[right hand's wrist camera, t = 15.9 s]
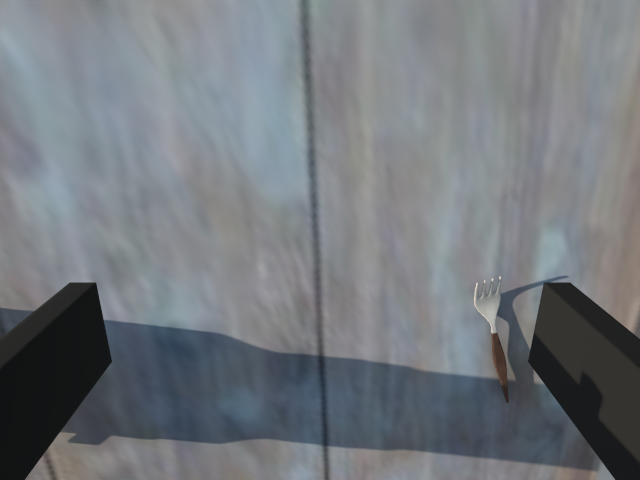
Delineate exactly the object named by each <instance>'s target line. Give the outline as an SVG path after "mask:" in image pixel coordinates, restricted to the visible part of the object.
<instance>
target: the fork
mask: <svg viewBox="0 0 640 480" xmlns="http://www.w3.org/2000/svg"><path fill="white" fill-rule="evenodd" d="M500 283H501V276H500V277H499V281H498V285H497V289H496V292H495V293H493V278H492V281H491V285H490V289H489V293H488V294H487V295H486V290H485V284H486V281H485V280H484V284H483V289H482V294H481V296H478V282H477V284H476V289H475V296H474V305H475V307H476V309H477V310H478V311H479V312H480V313H481V314H482V315H483V316H484V317H485V318H486V319H487V320H488V321H489V323H490V325H491V331H492V351H493V360H494V364H495V368H496V371H497V373H498V376H499V379H500V382H501V386H502V389H503V393H504V396H505V399H506V402H507V403H508V402H509V400H508V386H507V369H506V360H505V356H504V352H503V349H502V346H501V343H500V340H499V337H498V334H497V331H496V327H495V319H496V315H497V312H498V309H499V306H500V301H501V293H500Z"/></svg>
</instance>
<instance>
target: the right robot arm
mask: <svg viewBox="0 0 640 480" xmlns="http://www.w3.org/2000/svg"><path fill="white" fill-rule="evenodd" d="M111 362H112V360H111V355H110V350H109V345H108V340H107V335H106V330H105V325H104V320H103V315H102V310H101V305H100V300H99V295H98V290H97V285H96V283H69V284H68V285H66V286H65V287H64V288H63V289H61V290H60V291H59V292H58V293H57V294H55V295H54V296H53V297H52V298H50V299H49V300H48V301H47V302H45V303H44V304H43V305H42V306H40V307H39V308H38V309H37V310H36V311H34V312H33V313H32V314H31V315H29V316H28V317H27V318H26V319H24V320H23V321H22V322H21V323H20V324H18V325H17V326H16V327H15V328H13V329H12V330H11V331H10V332H8V333H7V334H6V335H5V336H4V337H2V338H1V339H0V480H25V479H26V477H27V476H28V474H29V473H30V472H31V470H32V469H33V468H34V466H35V465H36V464H37V462H38V461H39V460H40V458H41V457H42V456H43V454H44V453H45V451H46V450H47V449H48V447H49V446H50V445H51V443H52V442H53V441H54V439H55V438H56V437H57V435H58V434H59V432H60V431H61V430H62V428H63V427H64V426H65V424H66V423H67V422H68V420H69V419H70V418H71V416H72V415H73V414H74V412H75V411H76V409H77V408H78V407H79V405H80V404H81V403H82V401H83V400H84V399H85V397H86V396H87V395H88V393H89V392H90V390H91V389H92V388H93V386H94V385H95V384H96V382H97V381H98V380H99V378H100V377H101V376H102V374H103V373H104V372H105V370H106V369H107V367H108V366H109V365H110V363H111ZM528 362H529V363H530V365H531V366H532V367H533V369H534V370H535V372H536V373H537V374H538V376H539V377H540V378H541V380H542V381H543V382H544V384H545V385H546V386H547V388H548V389H549V391H550V392H551V393H552V395H553V396H554V397H555V399H556V400H557V401H558V403H559V404H560V405H561V407H562V408H563V409H564V411H565V412H566V414H567V415H568V416H569V418H570V419H571V420H572V422H573V423H574V424H575V426H576V427H577V428H578V430H579V431H580V432H581V434H582V435H583V437H584V438H585V439H586V441H587V442H588V443H589V445H590V446H591V447H592V449H593V450H594V451H595V453H596V454H597V456H598V457H599V458H600V460H601V461H602V462H603V464H604V465H605V466H606V468H607V469H608V470H609V472H610V473H611V474H612V476H613V477H614V478H615V480H640V339H639V338H638V337H636V336H635V335H634V334H633V333H632V332H630V331H629V330H628V329H627V328H625V327H624V326H623V325H622V324H620V323H619V322H618V321H617V320H616V319H614V318H613V317H612V316H611V315H609V314H608V313H607V312H606V311H604V310H603V309H602V308H601V307H600V306H598V305H597V304H596V303H595V302H593V301H592V300H591V299H590V298H588V297H587V296H586V295H585V294H583V293H582V292H581V291H580V290H579V289H577V288H576V287H575V286H574V285H572V284H571V283H544V285H543V290H542V295H541V300H540V305H539V310H538V315H537V320H536V325H535V330H534V335H533V340H532V345H531V350H530V355H529V360H528Z"/></svg>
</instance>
